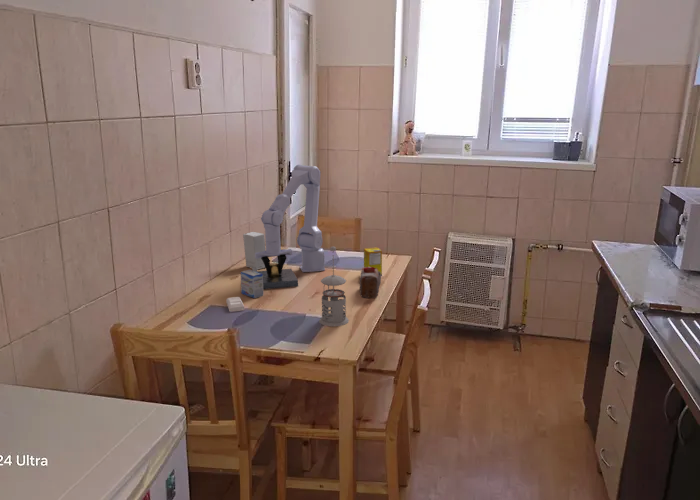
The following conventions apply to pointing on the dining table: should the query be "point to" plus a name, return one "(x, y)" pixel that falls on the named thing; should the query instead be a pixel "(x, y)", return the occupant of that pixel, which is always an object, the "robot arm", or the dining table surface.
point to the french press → (333, 301)
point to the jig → (279, 279)
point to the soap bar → (235, 304)
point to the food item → (369, 282)
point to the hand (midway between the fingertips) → (274, 274)
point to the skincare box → (254, 249)
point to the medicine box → (252, 283)
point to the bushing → (274, 270)
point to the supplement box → (373, 258)
